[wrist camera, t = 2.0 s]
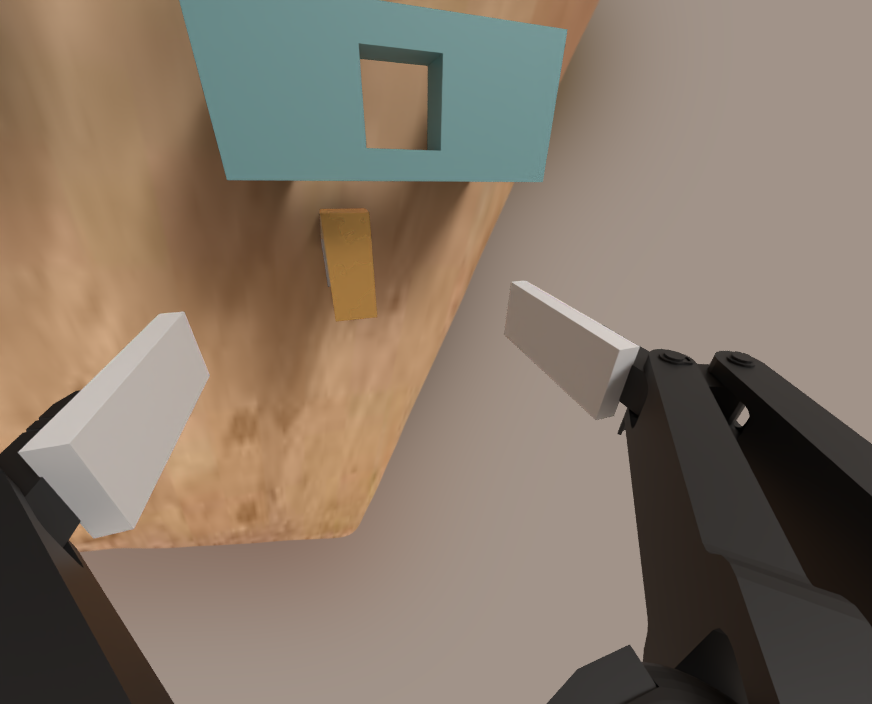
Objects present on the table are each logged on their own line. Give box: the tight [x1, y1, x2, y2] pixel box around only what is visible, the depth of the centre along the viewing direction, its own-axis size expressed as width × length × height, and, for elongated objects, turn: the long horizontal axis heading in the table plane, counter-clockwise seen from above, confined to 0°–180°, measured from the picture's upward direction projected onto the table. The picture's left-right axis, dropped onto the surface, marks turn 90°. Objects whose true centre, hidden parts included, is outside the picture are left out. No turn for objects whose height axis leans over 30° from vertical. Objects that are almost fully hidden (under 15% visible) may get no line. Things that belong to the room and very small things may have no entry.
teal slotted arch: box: [179, 0, 567, 182], centre depth 24 cm, size 20×8×12 cm, turn 89°
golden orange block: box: [319, 208, 377, 321], centre depth 27 cm, size 3×7×14 cm, turn 179°
